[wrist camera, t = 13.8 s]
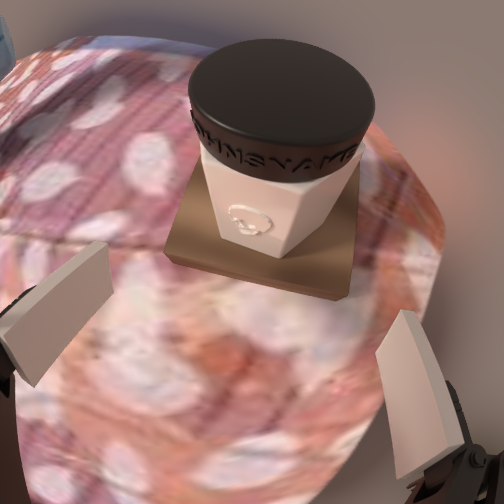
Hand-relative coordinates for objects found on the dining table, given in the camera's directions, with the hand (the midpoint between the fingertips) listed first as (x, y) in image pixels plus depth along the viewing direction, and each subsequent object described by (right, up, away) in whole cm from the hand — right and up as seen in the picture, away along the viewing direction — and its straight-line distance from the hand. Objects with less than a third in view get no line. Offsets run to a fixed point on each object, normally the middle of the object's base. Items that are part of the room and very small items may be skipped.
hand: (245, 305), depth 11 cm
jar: (+2, +6, +10) cm, 12 cm away
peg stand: (+2, +6, +13) cm, 15 cm away
